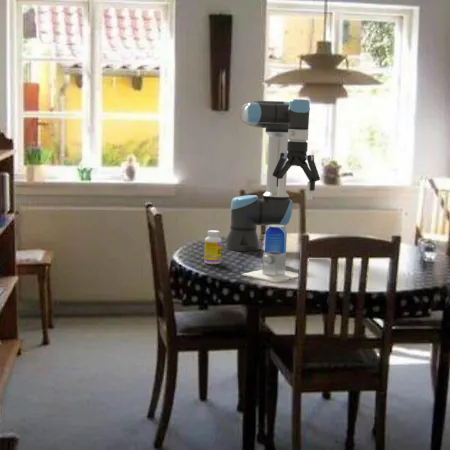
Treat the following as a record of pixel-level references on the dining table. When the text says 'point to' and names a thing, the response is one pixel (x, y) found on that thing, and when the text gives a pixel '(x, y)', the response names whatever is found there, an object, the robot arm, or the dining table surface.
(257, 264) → the dining table surface
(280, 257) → the elbow sleeve
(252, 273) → the panel
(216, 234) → the supplement bottle
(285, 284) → the dining table surface
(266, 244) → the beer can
